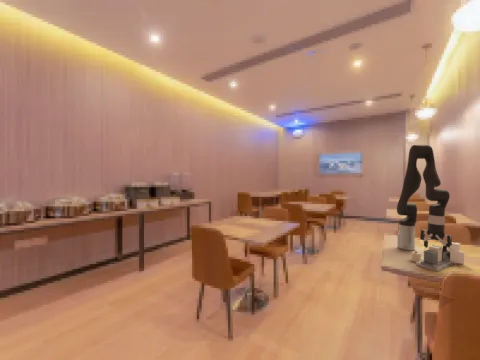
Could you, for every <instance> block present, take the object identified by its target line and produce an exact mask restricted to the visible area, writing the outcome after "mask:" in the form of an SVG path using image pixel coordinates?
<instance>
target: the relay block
mask: <svg viewBox="0 0 480 360" xmlns="http://www.w3.org/2000/svg"><path fill="white" fill-rule="evenodd" d="M421 254H422V253H421V252H419V251H417V250H411V253H410V256H411V259H410V260H411V261H412V262H415V263H416V262H419V261H422V260H421V258H422V257H421V256H422V255H421Z"/></svg>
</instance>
